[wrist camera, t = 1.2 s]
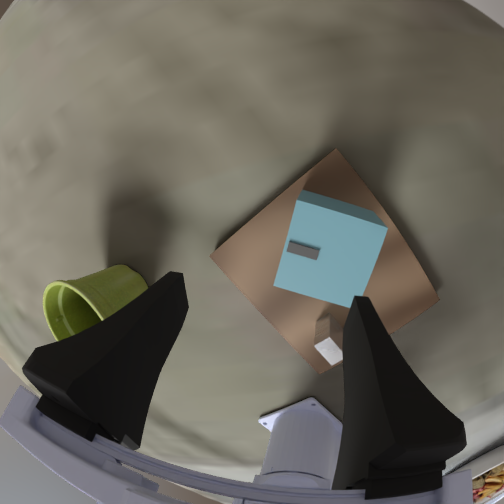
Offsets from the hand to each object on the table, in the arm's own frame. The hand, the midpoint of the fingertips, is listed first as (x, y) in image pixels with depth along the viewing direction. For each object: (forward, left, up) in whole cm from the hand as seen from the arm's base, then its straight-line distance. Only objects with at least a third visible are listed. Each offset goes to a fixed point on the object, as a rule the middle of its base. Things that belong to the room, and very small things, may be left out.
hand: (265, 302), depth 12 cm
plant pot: (+6, +17, -12) cm, 22 cm away
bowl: (-64, -2, -12) cm, 65 cm away
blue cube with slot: (-2, -2, -10) cm, 11 cm away
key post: (-8, +2, -10) cm, 13 cm away
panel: (-5, 0, -12) cm, 12 cm away
